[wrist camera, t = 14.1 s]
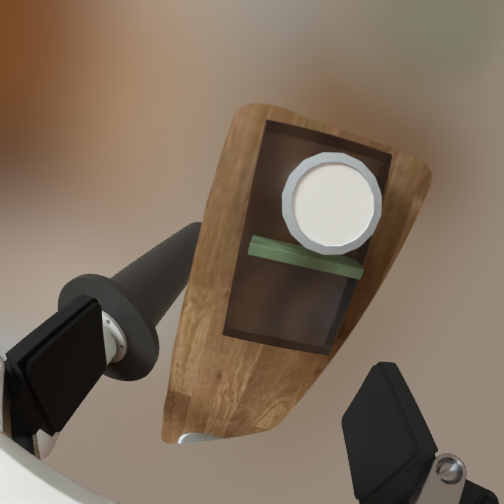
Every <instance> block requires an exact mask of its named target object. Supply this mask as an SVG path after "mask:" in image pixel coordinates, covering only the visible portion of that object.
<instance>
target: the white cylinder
mask: <svg viewBox="0 0 504 504" xmlns="http://www.w3.org/2000/svg"><path fill="white" fill-rule="evenodd" d="M381 207H382V195H381V192H380V189H379V186H378V183H377V181H376V178H375V176H374V175H373V174H372V173H371V171H370V170H369V169H368V168H367V167H366V166H365V165H364V164H363V163H362V162H361V161H359V160H357V159H355V158H353V157H351V156H349V155H347V154H344V153H330V152H322V153H320V154H318V155H315V156H313V157H310V158H308V159H305V160H303V161H302V162H301V164H300V165H299V166H298V167H297V168H296V169H295V170H294V171H293V172H292V173H291V174H290V175H289V177H288V180H287V182H286V185H285V188H284V190H283V193H282V215H283V218H284V220H285V222H286V224H287V227H288V229H289V231H290V234H291V235H292V236H293V237H294V238H296V239H297V240H298V241H299V242H300V243H301V244H302V245H303V246H304V247H305V248H307V249H310V250H312V251H315V252H317V253H320V254H323V255H336V254H344V253H347V252H349V251H351V250H354V249H356V248H358V247H360V246H361V245H362V244H363V243H364V242H365V241H366V240H367V239H368V238H369V237H370V236H371V235H372V234H373V233H374V231H375V229H376V226H377V224H378V222H379V219H380V217H381Z"/></svg>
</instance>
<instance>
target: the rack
mask: <svg viewBox="0 0 504 504" xmlns="http://www.w3.org/2000/svg"><path fill="white" fill-rule="evenodd" d="M322 152H330V153H344V154H347V155H349V156H351V157H353V158H355V159H357V160H359V161H361V162H362V163H363V164H364V165H365V166H366V167H367V168H368V169H369V170H370V171H371V173H372V174H373V175H374V176H375V178H376V181H377V183H378V186H379V189H380V192H381V195H382V199H383V195H384V191H385V186H386V182H387V178H388V173H389V169H390V164H391V159H392V154H389V153H386V152H384V151H381V150H378V149H375V148H372V147H369V146H366V145H363V144H360V143H357V142H354V141H351V140H347V139H344V138H341V137H337V136H334V135H330V134H327V133H323V132H319V131H315V130H311V129H307V128H303V127H299V126H295V125H290V124H286V123H281V122H277V121H272V120H266V123H265V127H264V132H263V136H262V141H261V146H260V150H259V155H258V160H257V164H256V169H255V174H254V179H253V183H252V188H251V193H250V198H249V203H248V208H247V212H246V217H245V222H244V227H243V232H242V237H241V242H240V247H239V252H238V257H237V262H236V267H235V272H234V277H233V282H232V287H231V293H230V298H229V303H228V308H227V313H226V319H225V324H224V329H223V335H225V336H229V337H234V338H238V339H242V340H247V341H251V342H256V343H261V344H266V345H271V346H276V347H281V348H286V349H292V350H297V351H303V352H309V353H315V354H322V355H329V353H330V351H331V348H332V346H333V343H334V341H335V339H336V336H337V334H338V332H339V329H340V327H341V324H342V322H343V319H344V317H345V314H346V312H347V309H348V306H349V304H350V301H351V299H352V296H353V293H354V290H355V288H356V285H357V282H358V279H361V278H362V275H363V272H364V269H363V264H364V261H365V258H366V255H367V252H368V249H369V245H370V242H371V239H372V235H373V234H372V235H371V236H370V237H369V238H368V239H367V240H366V241H365V242H364V243H363V244H362V245H361V246H360V247H358V248H356V249H354V250H351V251H349V252H347V253H344V254H336V255H323V254H320V253H317V252H315V251H312V250H310V249H307V248H305V247H304V246H303V245H302V244H301V243H300V242H299V241H298V240H297V239H296V238H294V237H293V236H292V235H291V234H290V231H289V229H288V227H287V224H286V222H285V220H284V218H283V215H282V193H283V190H284V188H285V185H286V182H287V180H288V177H289V175H290V174H291V173H292V172H293V171H294V170H295V169H296V168H297V167H298V166H299V165H300V164H301V162H302V161H303V160H305V159H308V158H310V157H313V156H315V155H318V154H320V153H322Z"/></svg>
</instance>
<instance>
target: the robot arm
mask: <svg viewBox="0 0 504 504" xmlns="http://www.w3.org/2000/svg"><path fill="white" fill-rule="evenodd" d="M126 353H127V340H126V337H125V335H124V333H123V331H122V329H121V327H120V326H119V325H118V323H117V322H116V321H115V320H114V319H113V318H112V317H111V316H110V315H108V314H107V313H105V312H104V311H102V309H101V305H100V304H98V301H97V299H96V298H93V297H90V296H87V295H85V294H81V295H79V296H78V297H76V298H75V299H74V300H72V301H71V302H70V303H68V304H67V305H66V306H64V307H63V308H62V309H60V310H59V311H58V312H56V313H55V314H54V315H53V316H51V317H50V318H49V319H47V320H46V321H45V322H44V323H42V324H41V325H40V326H39V327H37V328H36V329H35V330H33V331H32V332H31V333H30V334H29V335H27V336H26V337H25V338H24V339H22V340H21V341H20V342H19V343H18V344H16V345H15V346H14V347H13V348H12V349H10V350H9V351H8V352H7V353H6V357H7V360H6V361H4V360H3V358H2V357H1V356H0V504H120V503H117V502H115V501H113V500H111V499H108V498H106V497H104V496H102V495H100V494H98V493H95V492H93V491H92V490H89V489H87V488H86V487H83V486H82V485H80V484H78V483H76V482H75V481H73V480H71V479H69V478H68V477H66V476H64V475H62V474H61V473H59V472H58V471H56V470H54V469H53V468H51V467H50V466H48V465H46V464H45V463H44V462H42V461H41V460H42V459H44V458H46V457H47V456H48V455H49V454H50V452H51V451H52V450H53V448H54V446H55V443H56V441H57V438H58V436H59V434H60V431H61V430H62V429H63V428H64V426H65V425H66V423H67V422H68V420H69V419H70V418H71V416H72V415H73V413H74V412H75V411H76V409H77V408H78V407H79V405H80V404H81V402H82V401H83V400H84V398H85V397H86V396H87V394H88V393H89V392H90V390H91V389H92V388H93V386H94V385H95V384H96V382H97V381H98V380H99V378H100V377H101V375H102V374H103V373H104V372H105V370H106V367H107V365H108V364H109V362H118V361H120V360H122V358H123V357H124V356H125V354H126ZM342 429H343V433H344V439H345V444H346V449H347V454H348V460H349V465H350V471H351V476H352V483H353V489H354V495H355V498H356V499H357V500H359V504H499V502H498V498H497V497H496V495H495V494H494V493H493V492H491V491H490V490H487V489H485V488H483V487H481V486H479V485H477V484H475V483H473V482H471V481H469V480H467V479H466V467H465V465H464V463H463V462H462V460H461V459H460V458H458V457H457V456H455V455H453V454H449V453H444V454H441V455H439V456H438V457H437V458H436V457H435V453H436V452H437V451H438V448H437V446H436V444H435V442H434V440H433V438H432V435H431V433H430V431H429V429H428V426H427V424H426V422H425V420H424V418H423V416H422V414H421V412H420V409H419V407H418V406H417V403H416V402H415V399H414V397H413V395H412V393H411V392H410V390H409V388H408V386H407V384H406V382H405V380H404V378H403V376H402V374H401V372H400V371H399V368H398V367H397V365H396V364H395V363H392V362H379V363H377V365H374V366H373V367H372V368H371V370H370V372H369V373H368V375H367V377H366V379H365V381H364V382H363V384H362V386H361V387H360V389H359V391H358V393H357V394H356V396H355V398H354V399H353V401H352V402H351V404H350V406H349V407H348V409H347V410H346V412H345V413H344V415H343V418H342Z"/></svg>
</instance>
